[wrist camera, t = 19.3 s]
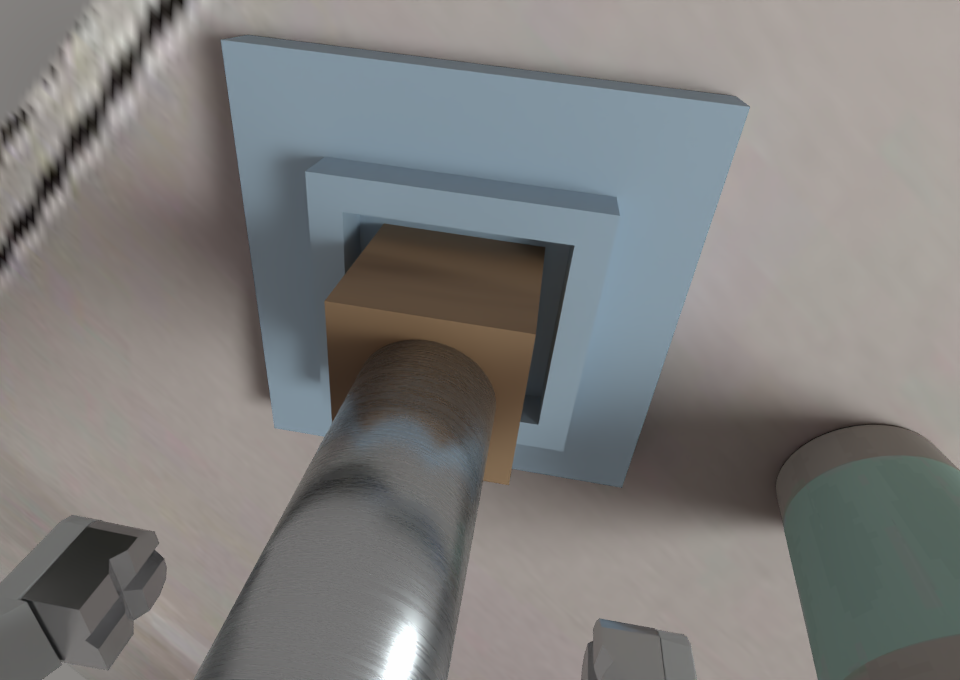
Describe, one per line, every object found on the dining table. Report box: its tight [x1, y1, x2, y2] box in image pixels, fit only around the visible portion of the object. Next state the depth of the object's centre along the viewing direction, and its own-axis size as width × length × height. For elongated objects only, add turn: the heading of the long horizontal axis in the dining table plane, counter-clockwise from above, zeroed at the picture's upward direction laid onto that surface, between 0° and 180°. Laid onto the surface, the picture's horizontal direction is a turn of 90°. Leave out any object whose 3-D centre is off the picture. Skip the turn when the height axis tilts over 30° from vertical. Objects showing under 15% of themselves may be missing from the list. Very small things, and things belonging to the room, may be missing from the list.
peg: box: [194, 339, 496, 680], centre depth 11 cm, size 4×4×8 cm
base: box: [221, 35, 750, 488], centre depth 19 cm, size 14×14×3 cm
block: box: [324, 223, 545, 485], centre depth 17 cm, size 5×5×5 cm
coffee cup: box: [776, 425, 960, 680], centre depth 17 cm, size 9×9×12 cm
